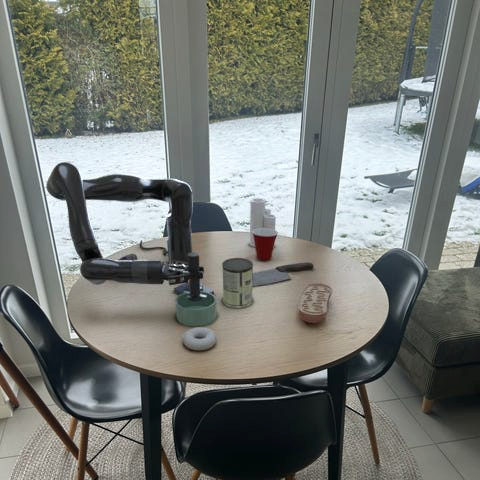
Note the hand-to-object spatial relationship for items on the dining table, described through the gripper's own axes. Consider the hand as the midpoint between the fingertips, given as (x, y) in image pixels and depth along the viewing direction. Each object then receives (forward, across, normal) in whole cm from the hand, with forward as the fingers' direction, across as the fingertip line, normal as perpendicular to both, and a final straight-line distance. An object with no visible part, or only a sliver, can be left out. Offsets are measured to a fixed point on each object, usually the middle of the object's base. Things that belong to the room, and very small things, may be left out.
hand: (203, 272), depth 146 cm
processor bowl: (-3, 0, -16) cm, 16 cm away
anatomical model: (+36, -4, -16) cm, 40 cm away
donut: (0, +16, -16) cm, 23 cm away
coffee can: (+11, -11, -16) cm, 22 cm away
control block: (-5, -16, -16) cm, 23 cm away
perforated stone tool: (-32, -35, -16) cm, 50 cm away
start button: (-5, -16, -12) cm, 21 cm away
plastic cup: (+22, -49, -16) cm, 56 cm away
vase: (+22, -64, -16) cm, 70 cm away
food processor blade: (-3, 0, -9) cm, 9 cm away
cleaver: (+28, -32, -16) cm, 45 cm away
